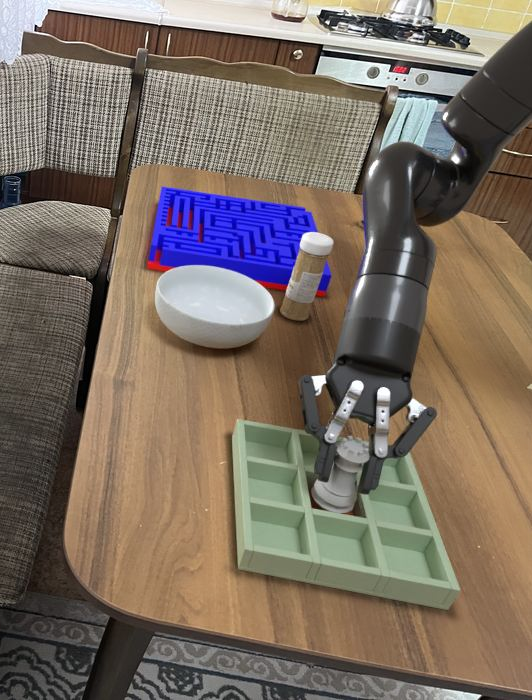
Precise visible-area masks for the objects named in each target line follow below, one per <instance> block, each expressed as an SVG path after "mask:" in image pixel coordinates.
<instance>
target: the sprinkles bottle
mask: <svg viewBox="0 0 532 700" xmlns="http://www.w3.org/2000/svg"><path fill="white" fill-rule="evenodd" d="M334 243H335V242H334V239H333V238H332V237H330V236H329V235H327V234H325V233H322V232H318V233H317V232H308V233H305V234H304V235H303V236H302V239H301V242H300V250H299V253H298V256H297V260H296V263H295V266H294V268H293V271H292V274H291V278H290V281H289V284H288V287H287V290H286V291H285V295H284V297H283V301H282V304H281V306H280V308H279V312H280V315H282V316H283V317H285V318H286V319H287V320H292V321H297V322H304V321H306V320H308V318H309V316H310V311H311V307H312V305H313V302H314V300H315V297H316V296H317V295H316V292H317V289H318V286H319V283H320V280H321V277H322V274H323V270H324V267H325V264H326V261H327V262H328V257H329V256H330V254H331V253H332V250H333V247H334Z"/></svg>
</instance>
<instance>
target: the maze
mask: <svg viewBox="0 0 532 700" xmlns="http://www.w3.org/2000/svg"><path fill="white" fill-rule="evenodd" d="M158 200H159V201H158V205H157V211H156V216H155V222H154V228H153V231H152V232H153V234H152V239H151V244H150V249H149V256H148V260H147V261H148V262H147V267H146V268H147V269H149V270H155V271H160V272H161V271H162V272H167V271H169V270H171V269H174V268H177V267H181V266H189V265H204V266H213V267H219V268H224V269H227V270H231V271H234V272H237V273H240V274H242V275H245V276H247V277H249V278H251V279H252V280H254V281H256V282H257V283H259V284H260V285H262V286H263V287H264V288H266V289H273V290H279V291H285V292H286V290H287V287H288V284H289V281H290V278H291V274H292V271H293V268H294V266H295V263H296V260H297V256H298V253H299V250H300V242H301V239H302V236H303V235H304V234H305V233H308V232H317V233H319V232H318V229H317V228H318V227H317V226H316V222H315V219H314V216H313V212H312V211H306V207H304V206H296V205H290V204H283V203H278V202H277V203H276V202H270V201H262V200H256V199H249V198H244V197H243V198H242V197H236V196H229V195H222V194H214V193H208V192H202V191H195V190H190V189H182V188H175V187H168V186H161V188H160V194H159V199H158ZM332 276H333V275H332V272H331V269H330V266H329V262H328V260H327V261H326V264H325V267H324V270H323V274H322V277H321V280H320V283H319V286H318V289H317V292H316V295H315V296H317V297H323V298H324V297H325V296H326V294H327V291H328V288H329V285H330V282H331V279H332Z"/></svg>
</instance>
